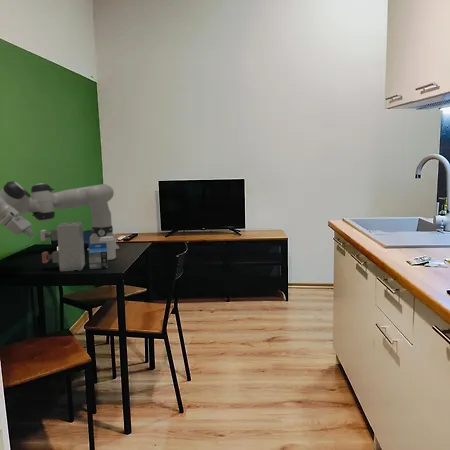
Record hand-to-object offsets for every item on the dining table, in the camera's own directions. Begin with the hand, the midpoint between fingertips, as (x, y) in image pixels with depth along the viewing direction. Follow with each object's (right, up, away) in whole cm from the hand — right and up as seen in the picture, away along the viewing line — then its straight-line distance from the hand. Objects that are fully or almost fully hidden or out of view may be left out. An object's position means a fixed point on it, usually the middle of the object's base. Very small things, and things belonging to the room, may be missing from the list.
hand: (32, 236), depth 227 cm
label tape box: (+31, -16, +4) cm, 35 cm away
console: (+16, -16, +5) cm, 23 cm away
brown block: (+7, -13, +3) cm, 15 cm away
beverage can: (+31, -13, +25) cm, 42 cm away
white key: (+7, -2, +2) cm, 7 cm away
